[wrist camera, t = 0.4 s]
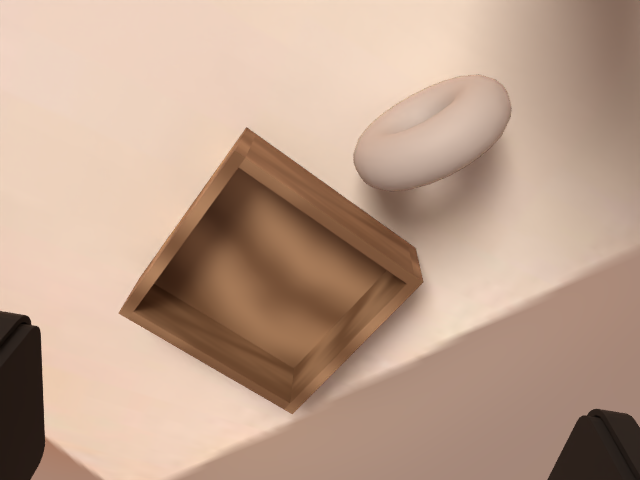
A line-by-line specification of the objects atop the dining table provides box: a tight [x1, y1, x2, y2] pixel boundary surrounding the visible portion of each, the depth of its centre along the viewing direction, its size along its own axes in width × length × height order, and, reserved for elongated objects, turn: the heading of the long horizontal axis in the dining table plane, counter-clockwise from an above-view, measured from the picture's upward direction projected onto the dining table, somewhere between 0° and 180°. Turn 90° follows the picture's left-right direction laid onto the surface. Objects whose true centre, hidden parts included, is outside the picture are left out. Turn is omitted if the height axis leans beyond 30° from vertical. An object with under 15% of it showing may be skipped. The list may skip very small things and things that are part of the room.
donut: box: [353, 75, 512, 191], centre depth 35 cm, size 10×4×10 cm, turn 120°
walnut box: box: [119, 127, 423, 414], centre depth 43 cm, size 16×16×5 cm
